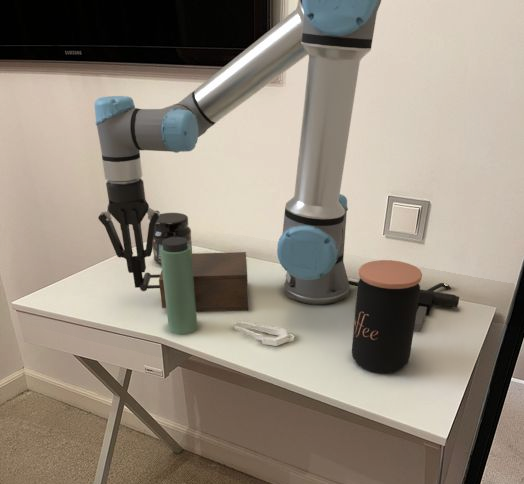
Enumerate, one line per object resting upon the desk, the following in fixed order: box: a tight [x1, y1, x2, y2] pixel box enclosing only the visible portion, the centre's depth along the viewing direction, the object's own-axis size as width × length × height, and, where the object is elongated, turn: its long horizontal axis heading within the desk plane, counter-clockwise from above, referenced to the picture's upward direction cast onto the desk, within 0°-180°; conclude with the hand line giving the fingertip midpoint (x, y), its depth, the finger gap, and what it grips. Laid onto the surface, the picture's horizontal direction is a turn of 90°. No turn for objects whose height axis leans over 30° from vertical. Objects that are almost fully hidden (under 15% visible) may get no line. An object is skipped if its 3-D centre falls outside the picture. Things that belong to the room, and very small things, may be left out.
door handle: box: [414, 289, 460, 333], centre depth 118 cm, size 3×20×16 cm
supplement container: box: [152, 212, 193, 267], centre depth 142 cm, size 10×10×12 cm
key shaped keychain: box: [233, 320, 295, 347], centre depth 109 cm, size 13×5×2 cm, turn 69°
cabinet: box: [192, 251, 249, 313], centre depth 123 cm, size 18×14×9 cm
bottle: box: [160, 237, 199, 335], centre depth 108 cm, size 6×6×19 cm
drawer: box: [139, 270, 167, 309], centre depth 123 cm, size 21×12×7 cm, turn 93°
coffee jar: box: [351, 259, 423, 375], centre depth 97 cm, size 11×11×18 cm
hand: (139, 285), depth 123 cm, fingers closed
